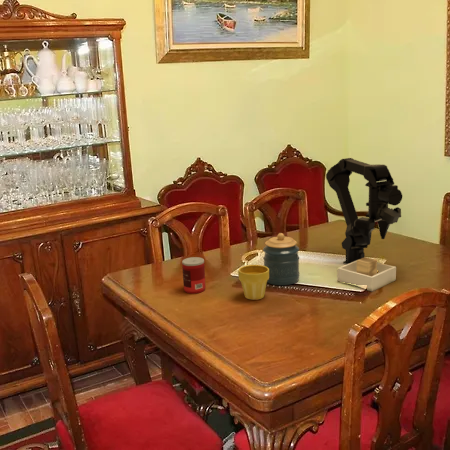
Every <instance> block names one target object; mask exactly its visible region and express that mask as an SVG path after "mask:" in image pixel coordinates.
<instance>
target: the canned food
mask: <svg viewBox="0 0 450 450" xmlns="http://www.w3.org/2000/svg"><path fill="white" fill-rule="evenodd" d="M181 265H182V266H181V267H182V270H181V271H182V279H183V280H182V282H183V283H182V284H183V291H184V292H185V293H187V294H193V295H194V294H195V295H196V294H200V293H203V292H204V291H205V290H206V269H205V259H204V258H203V257H197V256H195V257H194V256H192V257H187V258H184V259H182V262H181Z"/></svg>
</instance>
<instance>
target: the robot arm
mask: <svg viewBox="0 0 450 450" xmlns="http://www.w3.org/2000/svg"><path fill="white" fill-rule="evenodd" d="M352 173H355V174H358V175H360V176H363V179H364V180H366V181H367V182H366V184H365V185H364V186H365V187H367V188H368V201H367V202H366V203H365V206H366V207H368V208H367V209H368V210H367V211H368V212H367V213H366V214H365V216H364V217H363V216H362V217H359V216H358V213H357V210H356V208H355V205H354V204H355V203H354V201H353V198H352V195H351V192H350V189H349V185H350V182H351V180H350V176H351V175H352ZM325 177H326V178H325V179H326V181H327V183H328V186H329V187H330V188H331V189H332V190H334V192H335V193H336V197H337V200H338V202H339V206H340V208H341V212H342V215H343V218H344V221H345V224H346V229H345V232H344V234H345V238H344V239H343V241H342V242H341V248H342V249H343V250H345V260H344V261H343V262H342V263H343V264H345V265H347V264H349V263H352V262H354V261H356V260H359V259H361V258H364V257H366V256H365V249H366V248H368V247H369V246H370V245H371V241H372V240H371V239H372V232H373V231H374V230H375V229H376V228H375V225H376V222H377V225H378V230H379V234H380V235H379V236H380V239H381V240H385V239H386V237H387V233H388V230H389V227H390V226H391V225H393V224H396V223H398V221H399V219H400V218H401V217H402V208H400V207H399V206H398V205H400V203H401V202H402V200H403V193H402V191H401V189H398V188H399V186H398V185H395V182H394V178H393V177H392V174H391V172H390V169H389V168H388V166H387V165H386V164H370V163H367V162H363V161H361V160H360V161H359V160H357V159H354V158H352V157H347V158H342V159H340V160H339V161H338V162H337V163H335V164H334V165H333V166H331V167H330V168H329V169H328V170H327V172H326V175H325ZM389 205H391V206H397V207H395V208H390V207H389Z"/></svg>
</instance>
